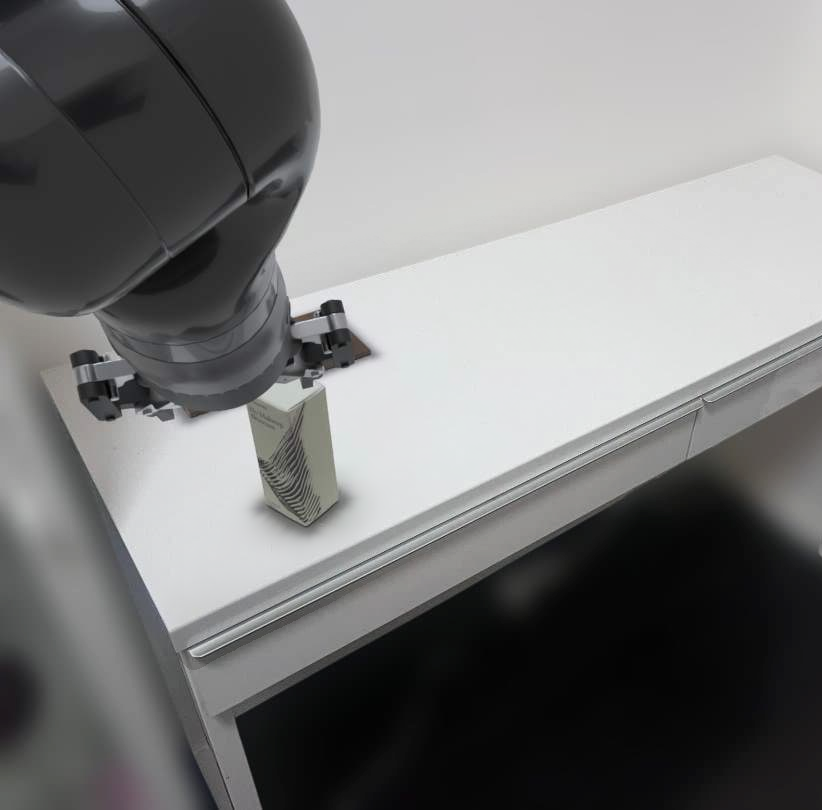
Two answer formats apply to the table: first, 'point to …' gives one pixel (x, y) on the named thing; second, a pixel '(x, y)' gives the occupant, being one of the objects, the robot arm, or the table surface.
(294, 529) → the table surface
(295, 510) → the box
